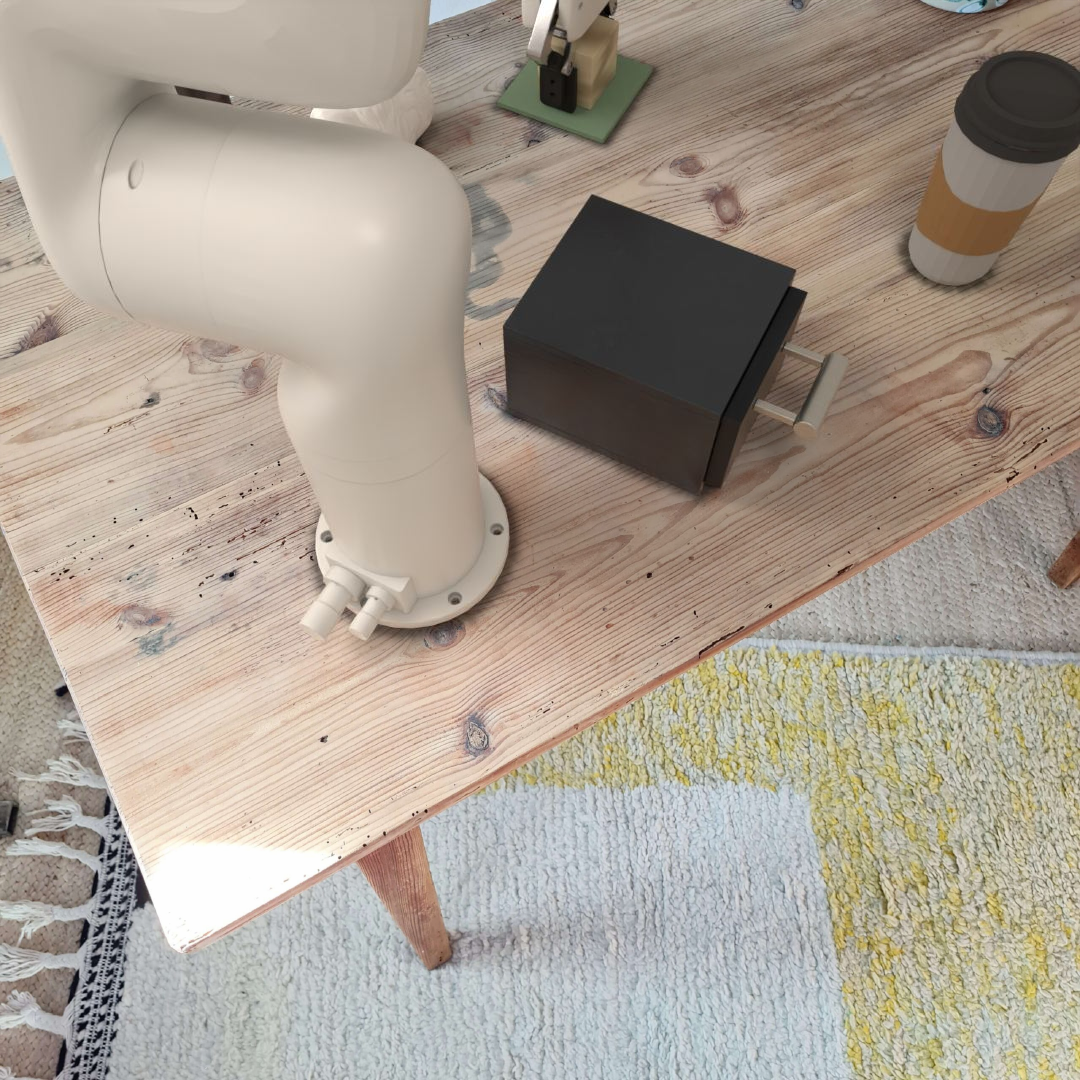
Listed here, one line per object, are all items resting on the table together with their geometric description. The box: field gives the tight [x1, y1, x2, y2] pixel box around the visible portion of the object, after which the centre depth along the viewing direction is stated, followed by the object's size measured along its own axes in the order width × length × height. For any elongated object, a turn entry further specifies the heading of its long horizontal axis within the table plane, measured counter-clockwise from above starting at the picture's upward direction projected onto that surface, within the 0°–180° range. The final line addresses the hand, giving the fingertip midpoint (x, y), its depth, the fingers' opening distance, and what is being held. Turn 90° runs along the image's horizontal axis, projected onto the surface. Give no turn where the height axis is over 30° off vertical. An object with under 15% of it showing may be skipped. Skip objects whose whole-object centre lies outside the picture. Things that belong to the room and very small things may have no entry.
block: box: [538, 15, 620, 110], centre depth 81 cm, size 5×5×5 cm
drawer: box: [704, 286, 851, 490], centre depth 65 cm, size 18×11×8 cm, turn 63°
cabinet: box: [502, 194, 797, 496], centre depth 66 cm, size 15×13×10 cm
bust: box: [309, 65, 435, 145], centre depth 77 cm, size 12×8×11 cm
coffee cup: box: [907, 49, 1080, 287], centre depth 68 cm, size 8×8×15 cm
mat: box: [497, 54, 654, 145], centre depth 84 cm, size 10×10×1 cm
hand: (576, 80), depth 83 cm, fingers open, 6 cm apart
